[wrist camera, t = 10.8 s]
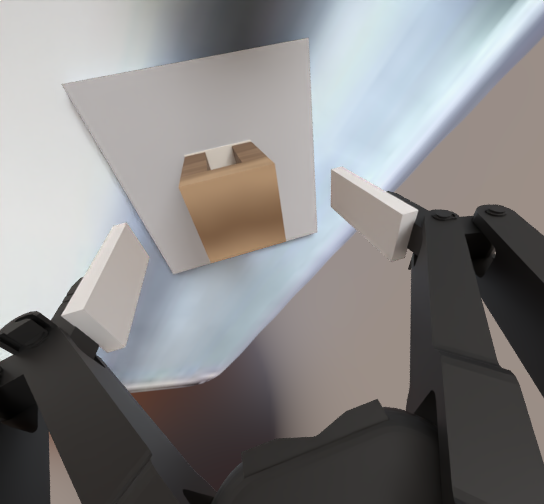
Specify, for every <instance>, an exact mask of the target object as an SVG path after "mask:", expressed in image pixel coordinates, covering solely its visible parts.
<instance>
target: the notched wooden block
mask: <svg viewBox="0 0 544 504" xmlns="http://www.w3.org/2000/svg"><path fill="white" fill-rule="evenodd" d="M232 149H233V153H234V157H235V161H236V164H233V165H229V166H225V167H221V168H217V169H213V170H211V169H210V166H209V163H208V159H207V156H206V153H205V152H203V153H199V154H195V155H190V156H186V157H185V158H184V163H183V168H182V173H181V177H180V182H179V190H180V192H181V195H182V197H183V199H184V202H185V204H186V206H187V209H188V211H189V213H190V216H191V218H192V220H193V223H194V225H195V227H196V230H197V232H198V234H199V237H200V239H201V241H202V244H203V246H204V248H205V251H206V253H207V255H208V258H209V260H210V262H211V263H214V262H217V261H221V260H224V259H228V258H231V257H234V256H238V255H241V254H245V253H248V252H252V251H255V250H259V249H262V248H266V247H269V246H272V245H276V244H279V243H283V242H286V237H285V230H284V223H283V216H282V209H281V202H280V195H279V189H278V182H277V175H276V168H275V163H274V162H273V161H272V160H270V159H269V158H268V157H267V156H266V155H265V154H264V153H263V152H262V151H261V150H260V149H259V148H258V147H257V146H255V145H254V144H253V143H252V142H247V143H242V144H238V145H234V146H232Z"/></svg>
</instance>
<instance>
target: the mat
mask: <svg viewBox="0 0 544 504" xmlns="http://www.w3.org/2000/svg"><path fill="white" fill-rule="evenodd" d="M62 86H63V88H64V89H65V91H66V93H67V94H68V96H69V98H70V99H71V101H72V103H73V105H74V106H75V108H76V110H77V111H78V113H79V115H80V116H81V118H82V120H83V121H84V123H85V125H86V127H87V128H88V130H89V132H90V133H91V135H92V137H93V138H94V140H95V142H96V143H97V145H98V147H99V149H100V150H101V152H102V154H103V155H104V157H105V159H106V160H107V162H108V164H109V166H110V167H111V169H112V171H113V172H114V174H115V176H116V177H117V179H118V181H119V182H120V184H121V186H122V188H123V189H124V191H125V193H126V194H127V196H128V198H129V199H130V201H131V203H132V205H133V206H134V208H135V210H136V211H137V213H138V215H139V216H140V218H141V220H142V221H143V223H144V225H145V227H146V228H147V230H148V232H149V233H150V235H151V237H152V238H153V240H154V242H155V243H156V245H157V247H158V249H159V250H160V252H161V254H162V255H163V257H164V259H165V260H166V262H167V264H168V266H169V267H170V269H171V271H172V272H173V274H176V273H180V272H183V271H187V270H190V269H193V268H197V267H200V266H204V265H207V264H211V262H210V260H209V258H208V255H207V253H206V251H205V248H204V246H203V244H202V241H201V239H200V237H199V234H198V232H197V230H196V227H195V225H194V223H193V220H192V218H191V216H190V213H189V211H188V209H187V206H186V204H185V202H184V199H183V197H182V195H181V192H180V190H179V182H180V177H181V173H182V168H183V163H184V158H185V157H186V156H190V155H195V154H199V153H203V152H205V153H206V156H207V159H208V163H209V166H210V169H211V170H213V169H217V168H221V167H225V166H229V165H233V164H236V161H235V157H234V153H233V149H232V146H234V145H238V144H242V143H247V142H252V143H253V144H254V145H255V146H257V147H258V148H259V149H260V150H261V151H262V152H263V153H264V154H265V155H266V156H267V157H268V158H269V159H270V160H272V161H273V162H274V163H275V168H276V175H277V182H278V189H279V195H280V202H281V209H282V216H283V223H284V230H285V237H286V241H289V240H292V239H296V238H299V237H303V236H306V235H309V234H313V233H316V232H317V214H316V192H315V170H314V148H313V126H312V104H311V82H310V60H309V38H305V39H299V40H294V41H289V42H283V43H278V44H273V45H267V46H262V47H257V48H251V49H246V50H241V51H235V52H230V53H225V54H220V55H214V56H209V57H204V58H198V59H193V60H188V61H182V62H177V63H172V64H166V65H161V66H156V67H150V68H145V69H140V70H135V71H129V72H124V73H119V74H113V75H108V76H103V77H97V78H92V79H87V80H81V81H76V82H71V83H65V84H62Z"/></svg>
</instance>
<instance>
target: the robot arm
mask: <svg viewBox="0 0 544 504" xmlns="http://www.w3.org/2000/svg"><path fill="white" fill-rule="evenodd" d="M331 207H332V208H333V209H334V210H335V211H336V212H337V213H338V214H339V215H340V216H342V217H343V218H344V219H345V220H346V221H347V222H348V223H349V224H350V225H351V226H352V227H354V228H355V229H356V230H357V231H358V232H359V233H360V234H361V235H362V236H363V237H364V238H366V239H367V240H368V241H369V242H370V243H371V244H372V245H373V246H374V247H375V248H376V249H378V250H379V251H380V252H381V253H382V254H383V255H384V256H385V257H386V258H387V259H388V260H390V261H391V262H393V261H396V260H399V259H402V258H405V255H406V252H407V248H408V249H410V250H411V251H412V252H413V255H412V258H411V261H410V265H409V268H408V269H409V270H411V337H410V339H411V340H410V345H411V346H410V388H409V394H408V399H407V405H406V411H405V410H401V409H397V408H390V407H382V406H381V404H380V403H379V401H378V399H376V400H374V401H371V402H369V403H366V404H363V405H361V406H358V407H356V408H353V409H351V410H348V411H346V412H345V413H343V414H342V415H341V416H340V417H339V418H338V419H336V420H335V421H334V422H333V423H332V424H331V425H329V426H328V427H327V428H326V429H325V430H324V431H322V432H321V433H320V434H319V435H317V436H315V437H301V438H279V439H274V440H272V441H269V442H267V443H264V444H261V445H259V446H256V447H254V448H251V449H249V450H246V451H243V452H241V455H242V463H241V464H239V465H238V466H237V467H236V468H235V469H234V470H233V471H232V472H231V473H230V475H229V476H228V477H227V478H226V480H225V481H224V483H223V484H222V485H221V487H220V489H219V490H218V492H216V491H215V490H214V489H213V488H212V487H211V485H209V483H208V482H207V481H206V480H204V479H203V478H202V477H201V476H200V475H198V474H197V473H196V472H195V471H194V469H193V468H192V467H191V466H190V465H189V464H188V462H187V461H186V460H185V459H184V458H183V456H182V455H181V454H180V453H179V452H178V450H177V449H176V448H175V447H174V446H173V444H172V443H171V442H170V441H169V440H168V439H167V437H166V436H165V435H164V434H163V432H162V431H161V430H160V429H159V428H158V426H157V425H156V424H155V423H154V422H153V420H152V419H151V418H150V417H149V416H148V414H147V413H146V412H145V411H144V410H143V408H142V407H141V406H140V405H139V404H138V402H137V401H136V400H135V399H134V398H133V396H132V395H131V394H130V393H129V392H128V390H127V389H126V388H125V387H124V386H123V384H122V383H121V382H120V381H119V380H118V378H117V377H116V376H115V375H114V374H113V372H112V371H111V370H110V369H109V368H108V366H107V365H106V364H105V363H104V362H103V360H102V359H101V358H100V357H98V356H97V355H96V352H97V350H98V347H99V346H100V347H101V348H102V349H103V350H105V351H106V352H107V353H109V352H112V351H115V350H118V349H121V348H124V347H126V343H127V339H128V336H129V332H130V328H131V325H132V321H133V317H134V313H135V310H136V306H137V302H138V298H139V295H140V291H141V287H142V284H143V280H144V276H145V272H146V269H147V265H148V261H149V258H150V257H149V256H148V254H147V253H146V251H145V250H144V248H143V247H142V245H141V244H140V242H139V241H138V239H137V238H136V236H135V234H134V233H133V231H132V230H131V228H130V227H129V225H128V224H127V223H123V224H119V225H115V226H113V227H112V229H111V231H110V232H109V234H108V236H107V238H106V239H105V241H104V243H103V244H102V246H101V248H100V250H99V251H98V253H97V255H96V256H95V258H94V260H93V262H92V263H91V265H90V267H89V269H88V270H87V272H86V274H85V275H84V277H82V278H80V279H79V280H78V281H77V282H76V283H75V284H74V285H73V286H72V287H71V289H70V290H69V292H68V293H67V296H66V297H65V298H64V300H63V303H62V304H61V305H60V306H59V308H58V310H57V311H56V313H55V315H54V316H53V318H52V320H51V321H50V320H49V319H48V318H46V317H45V316H44V315H42V314H41V313H39V312H37V311H34V312H29V313H26V314H23V315H21V316H19V317H17V318H15V319H14V320H12V321H11V322H9V323H8V324H7V325H5V326H4V327H3V328H2V329H1V330H0V347H1V348H3V349H5V350H6V351H8V352H10V353H12V354H14V355H12V356H10V357H8V358H6V359H4V360H2V361H0V504H50V472H49V432H50V434H51V436H52V439H53V441H54V443H55V445H56V448H57V450H58V452H59V454H60V457H61V459H62V461H63V463H64V465H65V468H66V470H67V472H68V474H69V477H70V479H71V481H72V483H73V486H74V488H75V490H76V492H77V494H78V497H79V499H80V501H81V503H82V504H544V463H543V460H542V457H541V453H540V450H539V447H538V444H537V440H536V437H535V434H534V431H533V427H532V424H531V421H530V418H529V414H528V411H527V408H526V404H525V401H524V398H523V395H522V391H521V388H520V385H519V383H518V381H517V379H516V377H515V375H514V374H513V373H512V372H511V371H510V370H506V369H503V368H501V366H500V365H499V363H498V361H497V358H496V354H495V350H494V346H493V342H492V338H491V335H490V330H489V327H488V323H487V319H486V315H485V311H484V307H483V304H482V300H481V298H482V299H483V301H484V303H485V305H486V306H487V308H488V309H489V311H490V313H491V314H492V316H493V317H494V319H495V321H496V322H497V324H498V325H499V327H500V329H501V330H502V332H503V333H504V335H505V337H506V338H507V340H508V341H509V343H510V345H511V346H512V348H513V349H514V351H515V352H516V354H517V356H518V357H519V359H520V361H521V362H522V364H523V365H524V367H525V369H526V370H527V372H528V373H529V375H530V377H531V378H532V380H533V381H534V383H535V385H536V386H537V388H538V389H539V391H540V392H541V394H542V396H543V397H544V236H543V235H542V234H541V233H539V232H538V231H537V230H536V229H535V228H534V227H532V226H531V225H530V224H529V223H528V222H526V221H525V220H524V219H523V218H522V217H520V216H519V215H518V214H517V213H516V212H515V211H513V210H511V209H509V208H506V207H504V206H501V205H499V206H498V205H482V206H479V207H478V208H477V209H476V211H475V213H474V216H467V217H459V216H458V215H457V214H455V213H454V212H450V211H448V210H431V211H428V210H426V209H424V208H422V207H421V206H419V205H417V204H415V203H413V202H410V200H408V199H406V198H404V197H402V196H401V195H399V194H397V193H393V192H389V191H384V190H382V189H381V188H379V187H377V186H375V185H374V184H372V183H370V182H368V181H367V180H365V179H363V178H361V177H359V176H358V175H356V174H354V173H352V172H351V171H349V170H347V169H345V168H344V167H338V168H334V169H331ZM495 251H496V255H495V254H494V253H495Z"/></svg>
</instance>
